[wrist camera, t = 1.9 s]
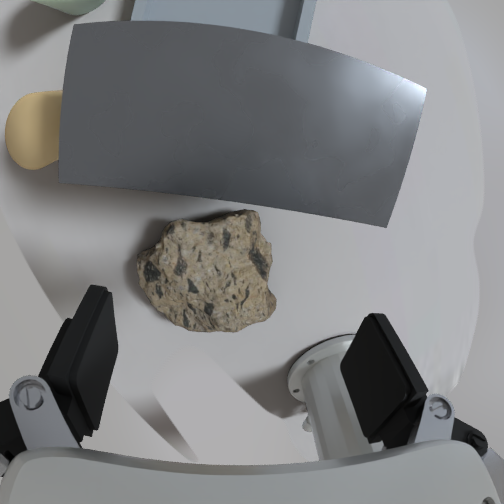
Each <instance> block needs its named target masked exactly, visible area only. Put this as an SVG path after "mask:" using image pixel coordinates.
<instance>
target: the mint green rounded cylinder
mask: <svg viewBox="0 0 504 504" xmlns="http://www.w3.org/2000/svg"><path fill="white" fill-rule="evenodd" d="M31 1H34V2H37V3H40V4H43V5H46V6H49V7H51V8H54V9H57V10H60V11H62V12H65V13H67V14H70V15H83V14H86V13H89V12H91V11H93V10H94V9H96V8H98V7H99V6H100V5H101V4H102V3H103V2H104V1H105V0H31Z"/></svg>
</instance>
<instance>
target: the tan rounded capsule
mask: <svg viewBox="0 0 504 504" xmlns="http://www.w3.org/2000/svg"><path fill="white" fill-rule="evenodd" d="M62 93H63V90H57V91H46V92H37V93H30V94H28V95H25V96H24V97H22V98H21V99H19V100H18V101H17V102H16V104H15V105H14V106H13V108H12V109H11V111H10V113H9V115H8V118H7V121H6V126H5V141H6V146H7V149H8V151H9V154H10V155H11V157H12V159H13V160H14V161H15V162H16V163H17V164H18V165H20V166H21V167H23V168H25V169H29V170H37V169H41V168H43V167H45V166H47V165H49V164H50V163H52V162H54V161H56V160H58V159H59V130H60V114H61V102H62Z"/></svg>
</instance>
